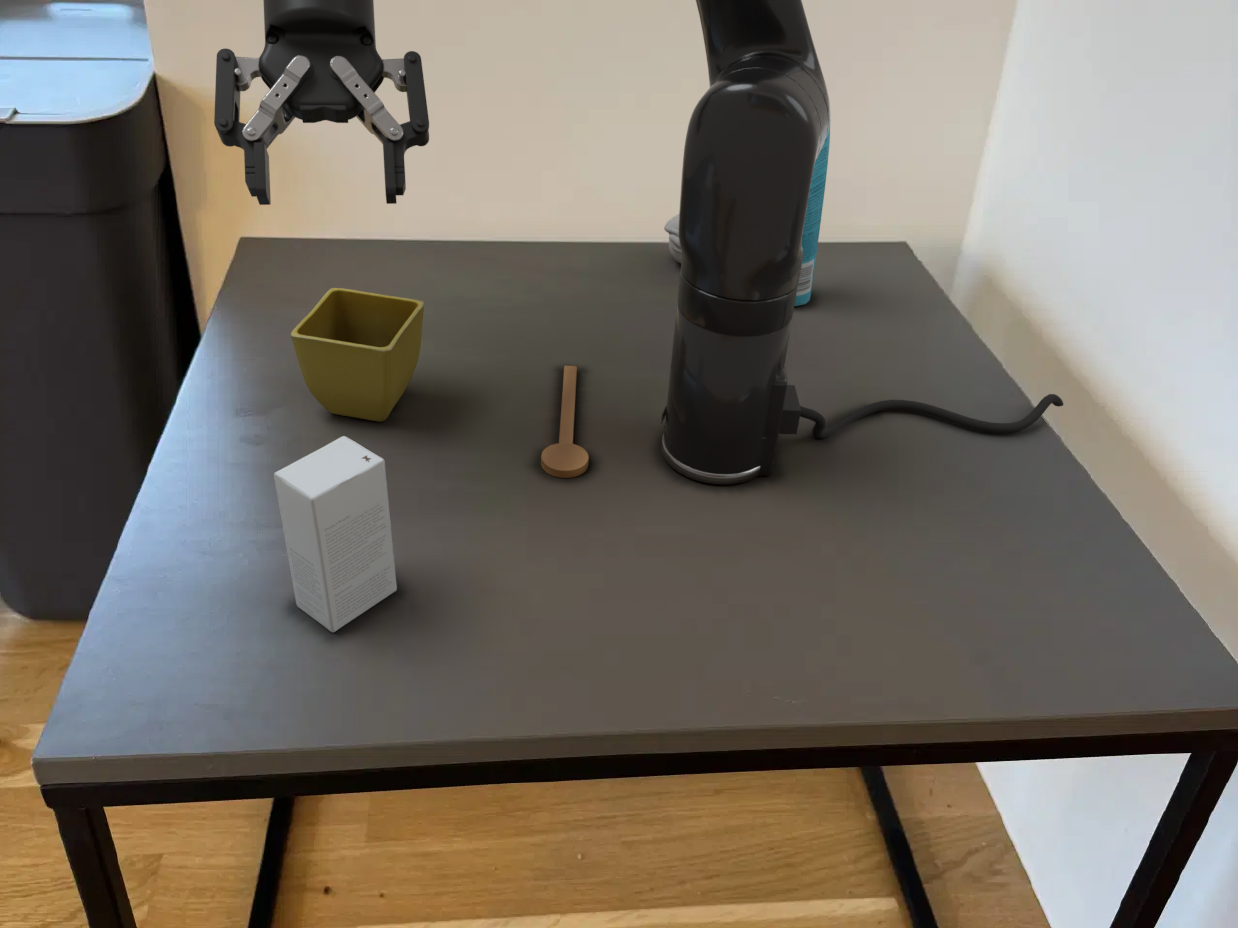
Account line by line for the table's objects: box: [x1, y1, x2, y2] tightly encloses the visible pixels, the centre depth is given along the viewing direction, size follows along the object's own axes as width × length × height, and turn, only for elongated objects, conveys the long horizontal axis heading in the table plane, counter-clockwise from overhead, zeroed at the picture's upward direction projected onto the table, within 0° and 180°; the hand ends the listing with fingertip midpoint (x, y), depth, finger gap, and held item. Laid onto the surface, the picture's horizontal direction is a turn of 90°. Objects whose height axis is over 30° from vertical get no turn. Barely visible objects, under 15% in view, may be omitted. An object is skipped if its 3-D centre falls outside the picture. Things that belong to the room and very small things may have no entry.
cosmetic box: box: [273, 435, 398, 633], centre depth 75 cm, size 6×4×12 cm
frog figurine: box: [663, 213, 682, 264], centre depth 124 cm, size 6×7×7 cm
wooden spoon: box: [540, 365, 590, 479], centre depth 99 cm, size 4×17×1 cm, turn 0°
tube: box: [794, 123, 831, 307], centre depth 115 cm, size 7×5×19 cm, turn 152°
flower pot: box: [290, 287, 425, 422], centre depth 96 cm, size 9×9×9 cm
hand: (328, 200), depth 76 cm, fingers open, 8 cm apart
